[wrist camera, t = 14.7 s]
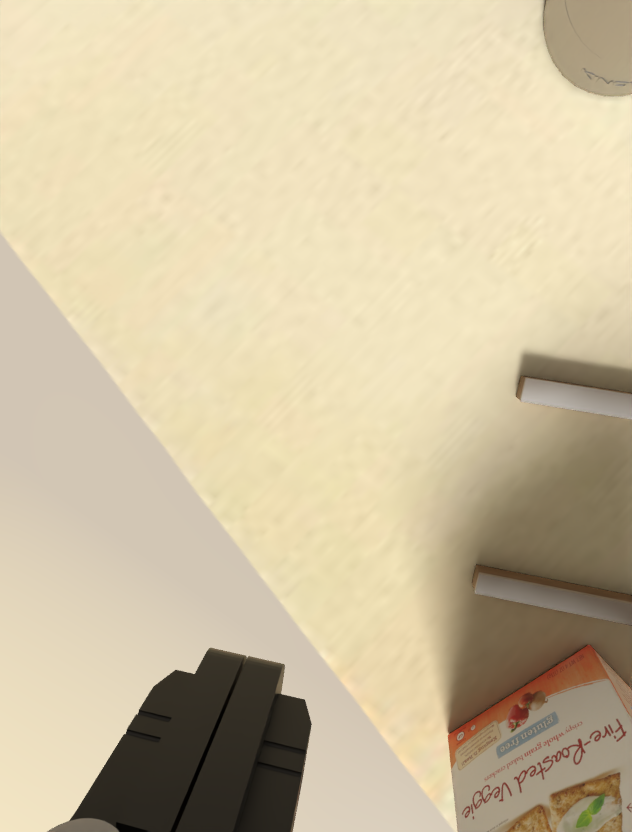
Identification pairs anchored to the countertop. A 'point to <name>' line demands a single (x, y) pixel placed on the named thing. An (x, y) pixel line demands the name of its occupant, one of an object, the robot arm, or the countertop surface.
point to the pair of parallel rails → (549, 590)
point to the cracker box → (549, 755)
